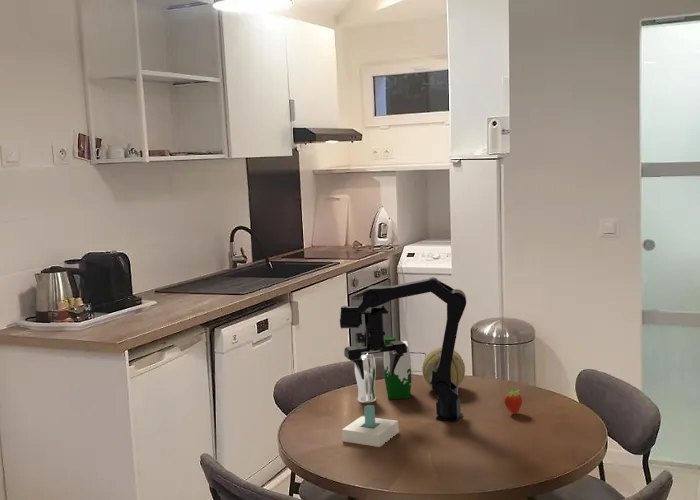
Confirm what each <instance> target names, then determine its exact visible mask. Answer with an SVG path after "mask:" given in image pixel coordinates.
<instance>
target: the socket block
mask: <svg viewBox="0 0 700 500" xmlns="http://www.w3.org/2000/svg"><path fill="white" fill-rule="evenodd" d="M375 425H376V427H375V428H374V429H371V428H365V415H361V416H360V417H358V418H357V419H355V420H354V421H352V422H351V423H350V424H348V425H346V426H345V427H344V428H342V429H341V433H342V435H341V436H342V437H341V438H342V442H344V443H350V444H351V443H352V444H359V445H362V446H363V445H364V446H371V447H376V448H381V447H383V445H384V444H386V443H387V442H388V441H390V438H391V439H392V438H393V436H394V437H395V436H396V435H398V434H399V431H400V430H399V420H393V419H389V418H388V419H386V418H378V417H375ZM385 442H386V443H385Z"/></svg>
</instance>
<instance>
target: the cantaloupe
mask: <svg viewBox="0 0 700 500" xmlns="http://www.w3.org/2000/svg"><path fill="white" fill-rule="evenodd" d="M441 350H442V347H438V348H434V349H433V350H431V351H430V352H428V353H427V355H426V357H425V358H424V360H423V364H422V376H423V379H424V381H425V382H426V384H428V385H429V386H430V387H431V388H432V384H430V378H431V376H432V368H433V366H435V367H437V366H438V364H439V361H440V356H441ZM465 372H466V366H465V362H464V359H463V358H462V356H461V355H460V353H459V352H458V351H456V350H454V352H453V357H452V363H451V382H453V383H454V384H455V385H456V386H457V387H458V388H459V386H460V385H461V383H462V381H463V380H464V378H465V374H466V373H465Z"/></svg>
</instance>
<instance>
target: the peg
mask: <svg viewBox="0 0 700 500" xmlns="http://www.w3.org/2000/svg"><path fill="white" fill-rule="evenodd" d="M363 410H364V411H363V412H364V413H363V414H364V415H363V416H365V428H371V429H374V428H375V427H376V425H375V418H376V411H375V410H376V409H375V405H372V404H367V405H364V406H363Z"/></svg>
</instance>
